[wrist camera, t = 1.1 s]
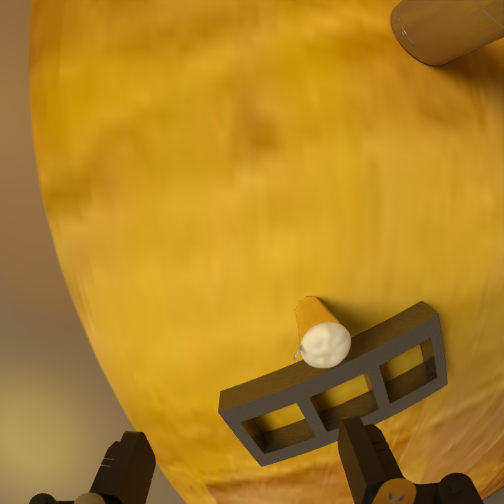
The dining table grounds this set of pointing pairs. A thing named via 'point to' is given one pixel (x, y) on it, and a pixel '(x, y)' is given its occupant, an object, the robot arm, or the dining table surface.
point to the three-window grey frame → (321, 379)
